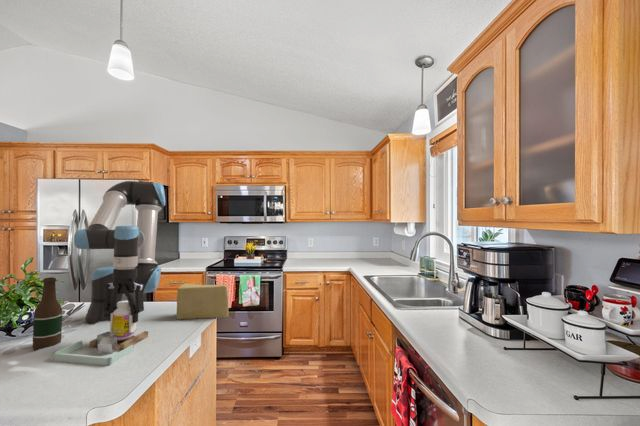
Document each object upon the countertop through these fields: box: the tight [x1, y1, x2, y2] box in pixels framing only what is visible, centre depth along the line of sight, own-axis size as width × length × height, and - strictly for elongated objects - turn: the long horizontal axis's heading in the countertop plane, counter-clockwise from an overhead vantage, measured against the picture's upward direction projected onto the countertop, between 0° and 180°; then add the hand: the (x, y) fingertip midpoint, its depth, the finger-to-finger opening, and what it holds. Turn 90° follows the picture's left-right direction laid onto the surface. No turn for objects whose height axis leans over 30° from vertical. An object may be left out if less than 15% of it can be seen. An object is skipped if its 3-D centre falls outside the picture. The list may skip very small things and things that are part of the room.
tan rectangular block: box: [176, 283, 230, 320], centre depth 143 cm, size 22×10×15 cm, turn 93°
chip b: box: [97, 337, 118, 355], centre depth 102 cm, size 4×4×4 cm
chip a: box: [96, 330, 117, 347], centre depth 107 cm, size 4×4×4 cm
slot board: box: [88, 330, 149, 351], centre depth 110 cm, size 12×13×3 cm
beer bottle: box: [32, 276, 63, 352], centre depth 107 cm, size 8×8×24 cm
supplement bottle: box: [113, 299, 135, 340], centre depth 111 cm, size 7×7×13 cm
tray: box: [51, 340, 134, 366], centre depth 99 cm, size 10×20×3 cm, turn 83°
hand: (123, 330), depth 111 cm, fingers closed on supplement bottle, 7 cm apart
